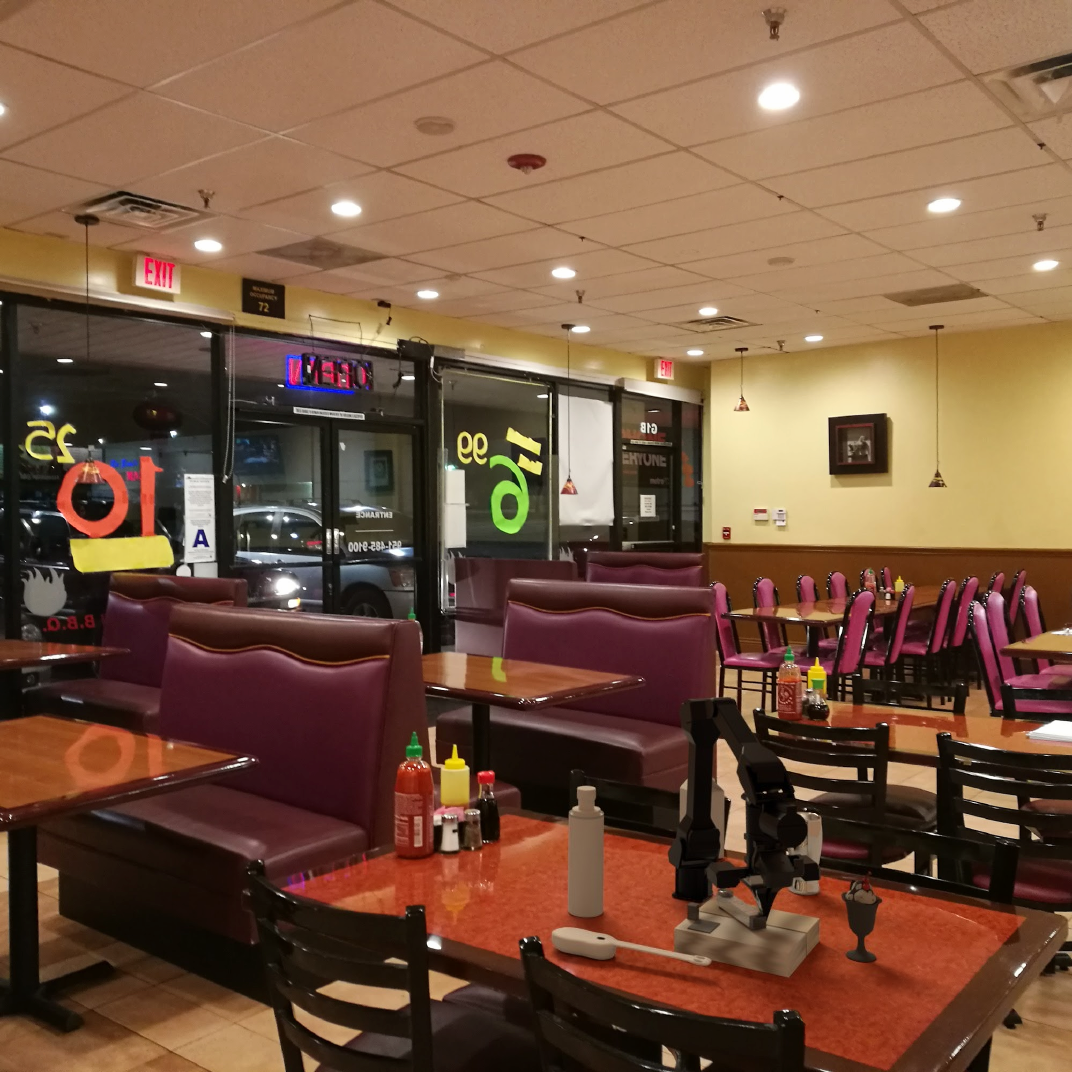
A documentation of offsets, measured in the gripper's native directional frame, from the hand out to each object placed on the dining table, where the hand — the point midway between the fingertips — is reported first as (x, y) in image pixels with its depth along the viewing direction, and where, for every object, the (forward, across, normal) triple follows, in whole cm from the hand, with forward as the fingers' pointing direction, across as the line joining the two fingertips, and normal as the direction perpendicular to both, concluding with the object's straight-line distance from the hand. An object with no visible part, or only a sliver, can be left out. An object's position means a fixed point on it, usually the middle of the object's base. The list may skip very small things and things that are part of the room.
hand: (764, 920), depth 181 cm
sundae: (+6, +15, -5) cm, 17 cm away
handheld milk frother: (+4, -25, -2) cm, 25 cm away
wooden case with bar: (+5, -2, +2) cm, 6 cm away
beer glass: (+6, +19, +28) cm, 34 cm away
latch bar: (0, -3, +4) cm, 5 cm away
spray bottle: (+4, -27, +22) cm, 35 cm away
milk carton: (+6, +6, +52) cm, 53 cm away
